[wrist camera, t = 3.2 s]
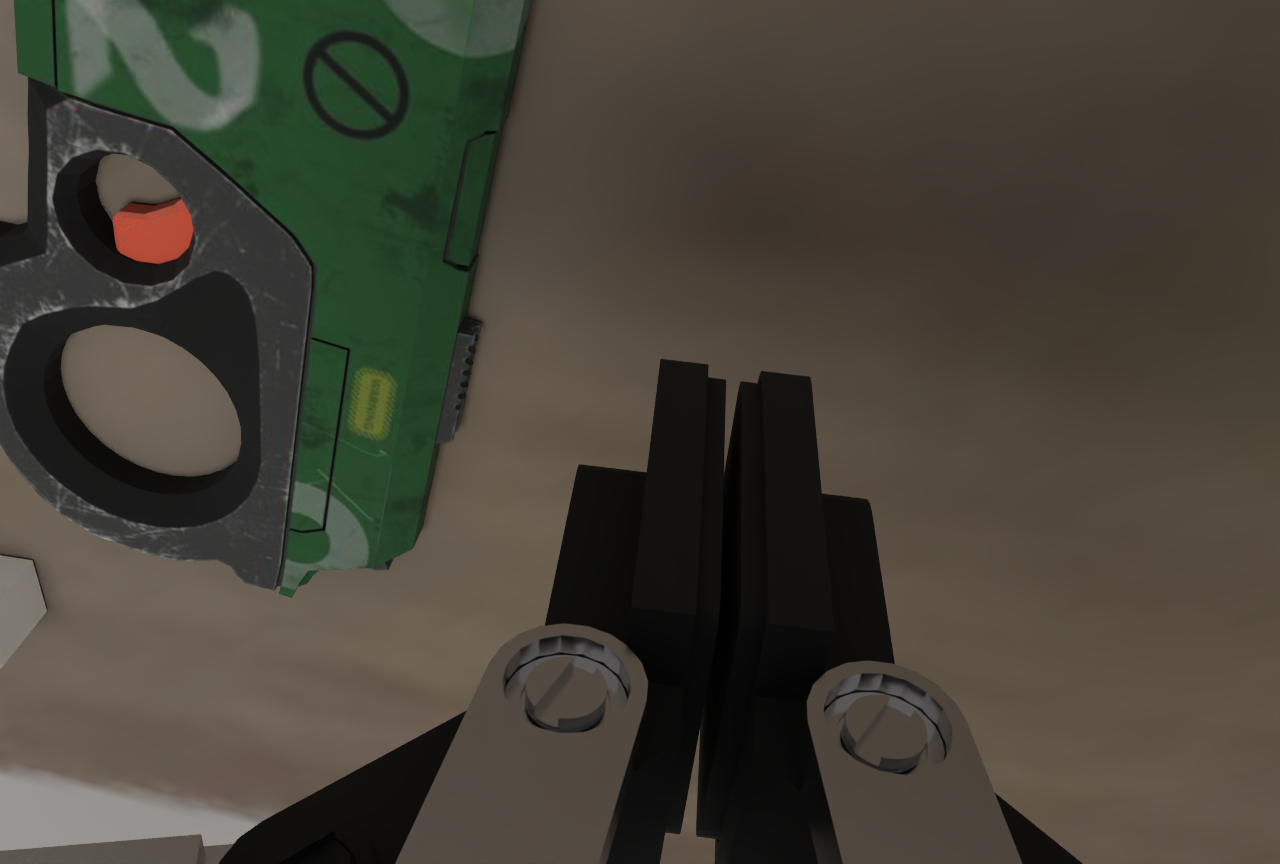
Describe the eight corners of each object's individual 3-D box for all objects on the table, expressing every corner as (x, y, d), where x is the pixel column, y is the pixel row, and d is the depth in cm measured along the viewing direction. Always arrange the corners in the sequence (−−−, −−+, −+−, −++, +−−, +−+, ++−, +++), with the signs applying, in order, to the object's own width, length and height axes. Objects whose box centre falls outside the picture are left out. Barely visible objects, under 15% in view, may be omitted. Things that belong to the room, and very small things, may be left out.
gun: (-237, -582, 13) (606, -304, 13) (-147, -561, 14) (622, -306, 14) (-86, 490, 22) (407, 631, 22) (-40, 447, 23) (428, 582, 24)
